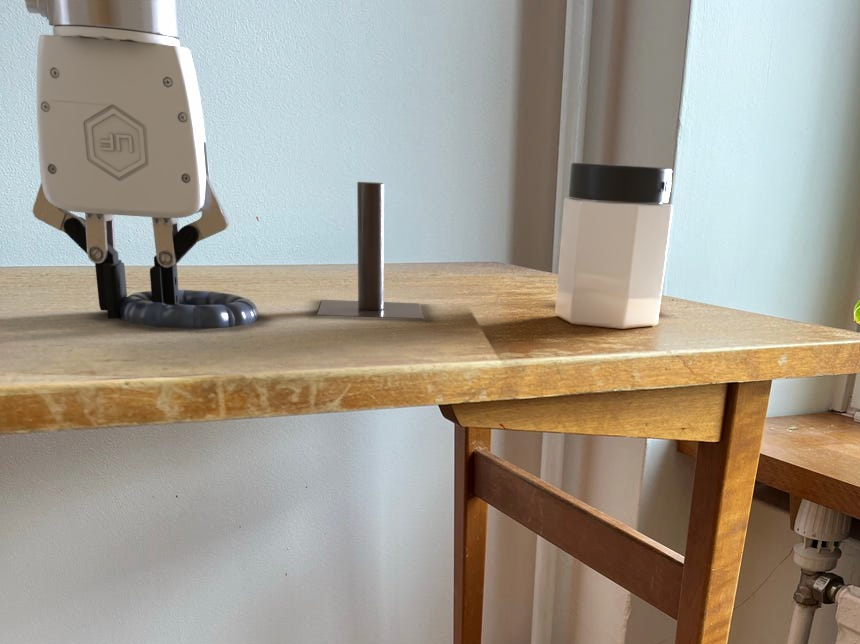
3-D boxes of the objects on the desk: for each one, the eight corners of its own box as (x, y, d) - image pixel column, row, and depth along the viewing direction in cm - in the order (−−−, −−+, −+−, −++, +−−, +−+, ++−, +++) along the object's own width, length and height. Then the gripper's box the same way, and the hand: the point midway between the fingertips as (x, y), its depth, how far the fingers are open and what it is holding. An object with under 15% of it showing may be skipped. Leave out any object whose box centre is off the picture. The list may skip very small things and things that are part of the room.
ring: (108, 334, 65) (105, 302, 64) (137, 313, 73) (135, 285, 72) (249, 341, 66) (248, 310, 65) (263, 320, 74) (262, 292, 73)
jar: (670, 330, 81) (691, 169, 76) (576, 328, 79) (591, 164, 74) (632, 313, 89) (649, 166, 83) (545, 311, 87) (557, 161, 82)
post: (317, 328, 73) (313, 181, 69) (322, 312, 80) (319, 178, 76) (423, 332, 74) (427, 187, 70) (419, 315, 81) (422, 183, 77)
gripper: (-44, -3, 57) (4, 326, 65) (240, 22, 59) (251, 339, 67) (0, 13, 63) (38, 309, 72) (254, 35, 65) (262, 321, 73)
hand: (141, 321), depth 69 cm, fingers closed on ring, 2 cm apart
